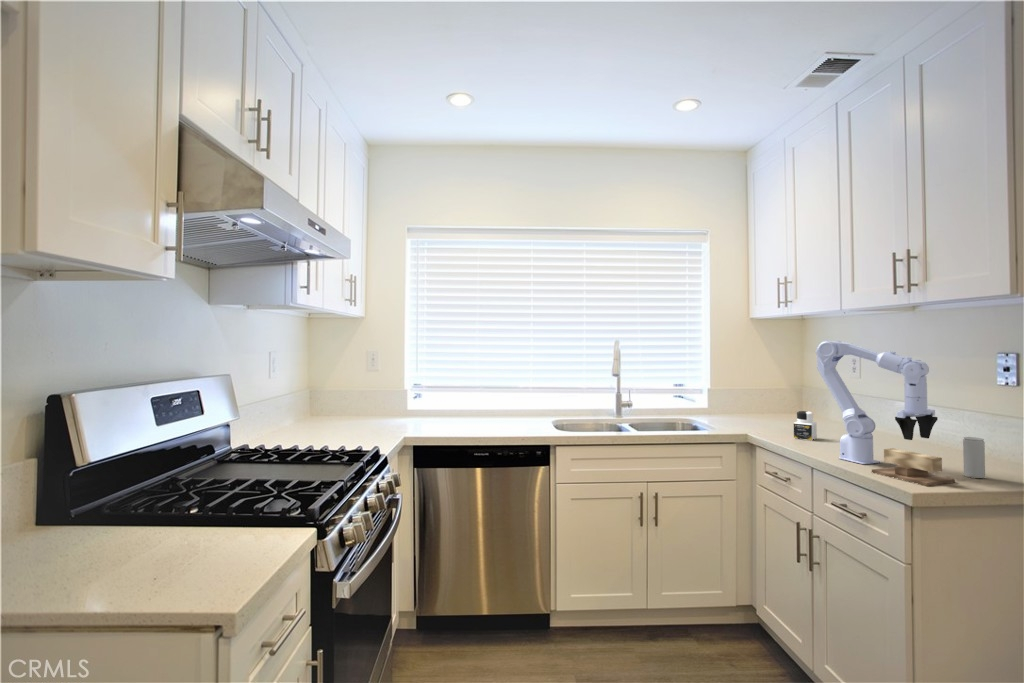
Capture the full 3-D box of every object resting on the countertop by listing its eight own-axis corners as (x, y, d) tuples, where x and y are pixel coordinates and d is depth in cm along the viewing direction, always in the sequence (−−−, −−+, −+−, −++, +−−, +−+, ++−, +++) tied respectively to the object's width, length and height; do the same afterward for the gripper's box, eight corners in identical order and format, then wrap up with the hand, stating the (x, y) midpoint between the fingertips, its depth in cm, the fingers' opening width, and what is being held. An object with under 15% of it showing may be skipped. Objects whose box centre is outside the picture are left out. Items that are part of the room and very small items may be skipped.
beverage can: (978, 479, 146) (977, 440, 147) (959, 475, 151) (959, 437, 151) (989, 478, 148) (988, 439, 148) (970, 474, 152) (969, 436, 152)
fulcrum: (871, 472, 156) (871, 461, 156) (898, 469, 159) (898, 458, 159) (926, 486, 141) (926, 474, 141) (955, 482, 144) (954, 470, 144)
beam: (884, 461, 156) (883, 449, 156) (893, 460, 157) (892, 448, 157) (932, 472, 143) (932, 458, 143) (942, 471, 144) (941, 457, 144)
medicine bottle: (793, 438, 212) (793, 411, 212) (798, 436, 217) (798, 409, 217) (812, 441, 207) (811, 413, 207) (817, 438, 212) (816, 411, 212)
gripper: (913, 399, 152) (913, 442, 152) (945, 397, 156) (946, 439, 156) (889, 397, 159) (890, 438, 159) (921, 395, 163) (922, 435, 163)
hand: (916, 438), depth 158 cm, fingers open, 7 cm apart
